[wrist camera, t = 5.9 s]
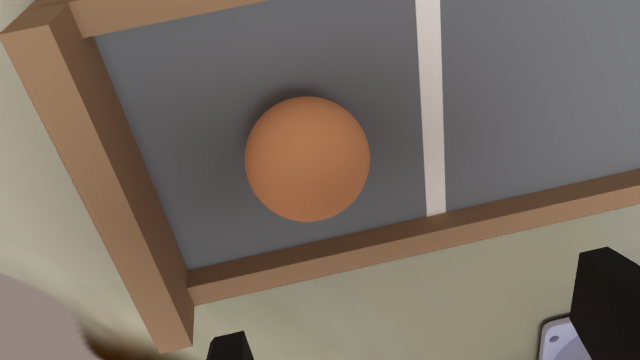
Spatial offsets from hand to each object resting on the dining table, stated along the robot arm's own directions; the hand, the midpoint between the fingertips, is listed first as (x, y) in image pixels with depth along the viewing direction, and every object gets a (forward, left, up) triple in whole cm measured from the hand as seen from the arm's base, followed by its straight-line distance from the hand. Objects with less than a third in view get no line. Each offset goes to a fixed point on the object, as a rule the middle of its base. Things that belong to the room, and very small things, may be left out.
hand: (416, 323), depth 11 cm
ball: (0, +1, -7) cm, 7 cm away
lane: (0, -6, -10) cm, 11 cm away
